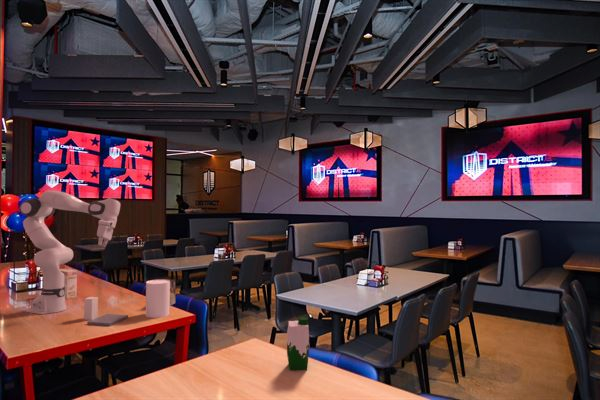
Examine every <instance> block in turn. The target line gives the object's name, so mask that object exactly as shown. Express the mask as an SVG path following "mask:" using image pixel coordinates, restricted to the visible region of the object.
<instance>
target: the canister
mask: <svg viewBox="0 0 600 400" xmlns="http://www.w3.org/2000/svg"><path fill="white" fill-rule="evenodd" d="M169 280H170V279H151V280H147V281H146V282H145V283H146V285H145V317H146V318H153V319H159V318H164V317H167V316H169V315H170V306H169V305H170V281H169Z"/></svg>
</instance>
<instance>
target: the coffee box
mask: <svg viewBox="0 0 600 400" xmlns="http://www.w3.org/2000/svg"><path fill="white" fill-rule="evenodd" d="M168 280H169V281H170V305H169V307H171V306H173V305H174V304H176V282H177V281H176V279H168Z"/></svg>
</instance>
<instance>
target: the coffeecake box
mask: <svg viewBox="0 0 600 400" xmlns="http://www.w3.org/2000/svg"><path fill="white" fill-rule="evenodd" d="M59 269H60V268H59ZM60 271H61V272H62V273H63V274H64V286H65V294H64V295H65V300H72V299H76V298H77V292H78V291H77V290H78V289H77V285H78V279H77V278H78V270H77V269H71V268H61V269H60Z"/></svg>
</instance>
